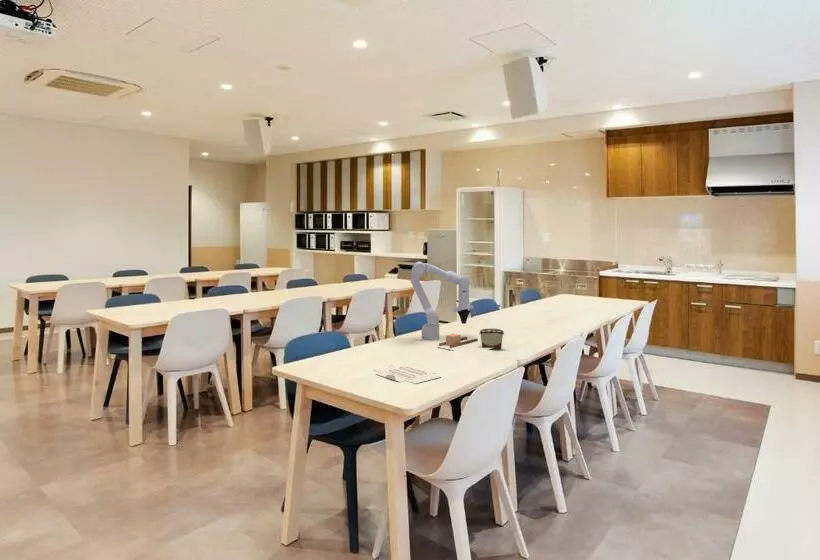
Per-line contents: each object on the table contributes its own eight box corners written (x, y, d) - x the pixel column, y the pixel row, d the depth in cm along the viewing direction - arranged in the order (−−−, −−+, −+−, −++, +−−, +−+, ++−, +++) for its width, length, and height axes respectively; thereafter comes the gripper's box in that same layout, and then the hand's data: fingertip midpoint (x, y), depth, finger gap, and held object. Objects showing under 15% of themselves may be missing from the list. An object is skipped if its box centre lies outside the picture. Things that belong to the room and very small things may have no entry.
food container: (503, 347, 273) (503, 328, 272) (504, 350, 267) (504, 330, 266) (478, 347, 275) (478, 328, 274) (479, 350, 269) (479, 330, 268)
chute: (437, 347, 275) (437, 343, 274) (464, 341, 290) (464, 336, 290) (452, 350, 268) (452, 345, 267) (479, 343, 284) (479, 338, 283)
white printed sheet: (403, 365, 243) (403, 357, 242) (446, 380, 222) (447, 371, 221) (367, 373, 230) (367, 365, 229) (409, 390, 209) (409, 381, 208)
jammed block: (445, 345, 275) (445, 335, 275) (453, 343, 279) (453, 333, 279) (453, 346, 272) (453, 336, 271) (460, 344, 276) (460, 334, 276)
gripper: (461, 300, 282) (461, 326, 283) (477, 297, 292) (477, 322, 293) (450, 299, 286) (450, 324, 288) (467, 296, 297) (467, 321, 298)
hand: (463, 323), depth 291 cm, fingers closed
